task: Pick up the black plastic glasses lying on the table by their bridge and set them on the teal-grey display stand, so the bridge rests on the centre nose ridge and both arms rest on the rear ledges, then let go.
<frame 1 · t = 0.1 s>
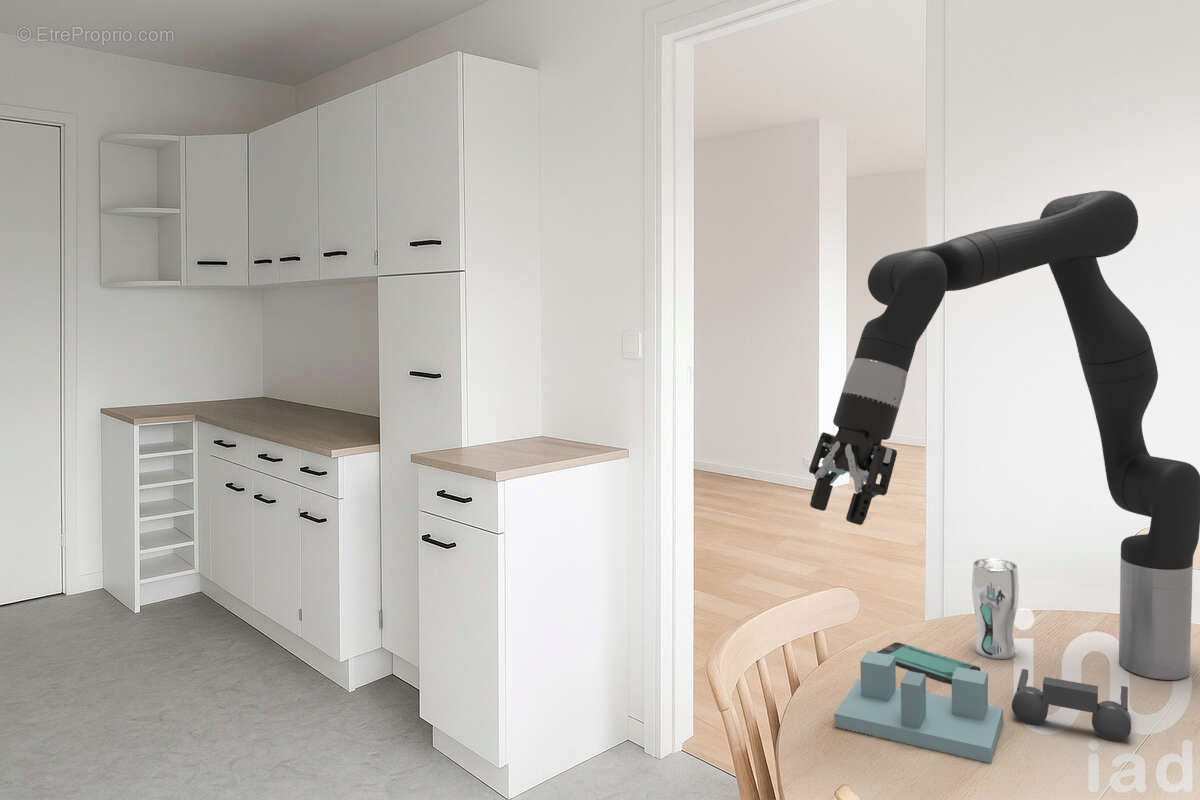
hand: (834, 515, 108), 31 cm above the table, tool tilted 20°, fingers open, 8 cm apart
smartphone: (925, 668, 134), on the table
glasses: (1069, 728, 112), on the table
display stand: (913, 734, 113), on the table
beer glass: (994, 653, 137), on the table
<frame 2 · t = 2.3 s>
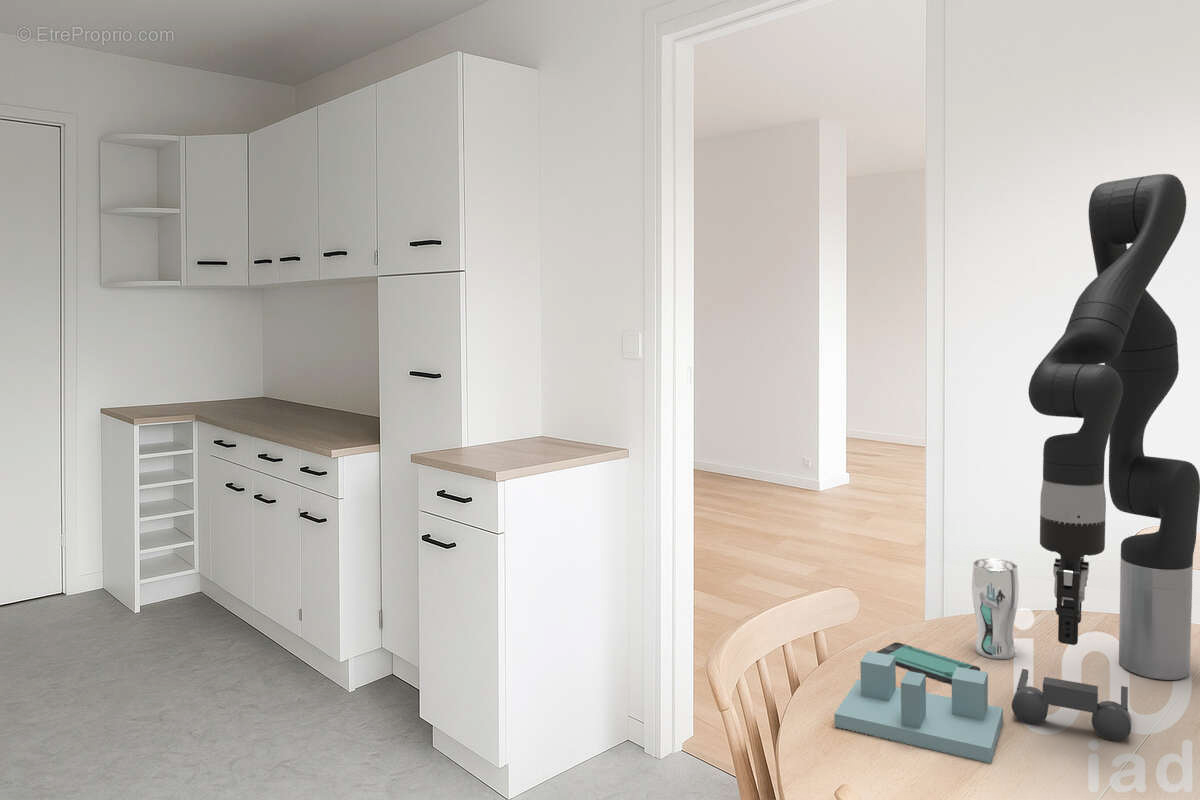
hand: (1069, 632, 111), 14 cm above the table, tool pointing down, fingers open, 8 cm apart
nothing on the table moved.
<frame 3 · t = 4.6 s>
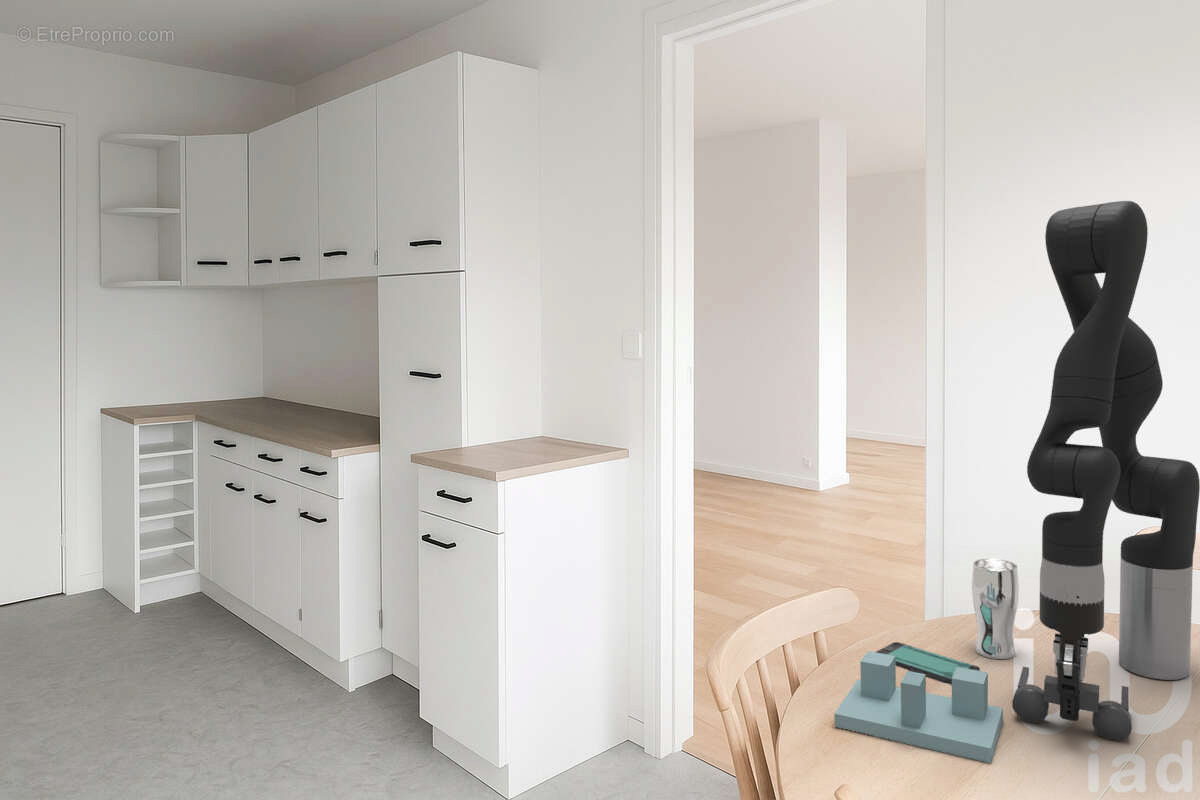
hand: (1070, 713, 112), 2 cm above the table, tool pointing down, fingers closed on glasses, 2 cm apart
glasses: (1069, 726, 112), on the table, touching gripper
everything else where it was.
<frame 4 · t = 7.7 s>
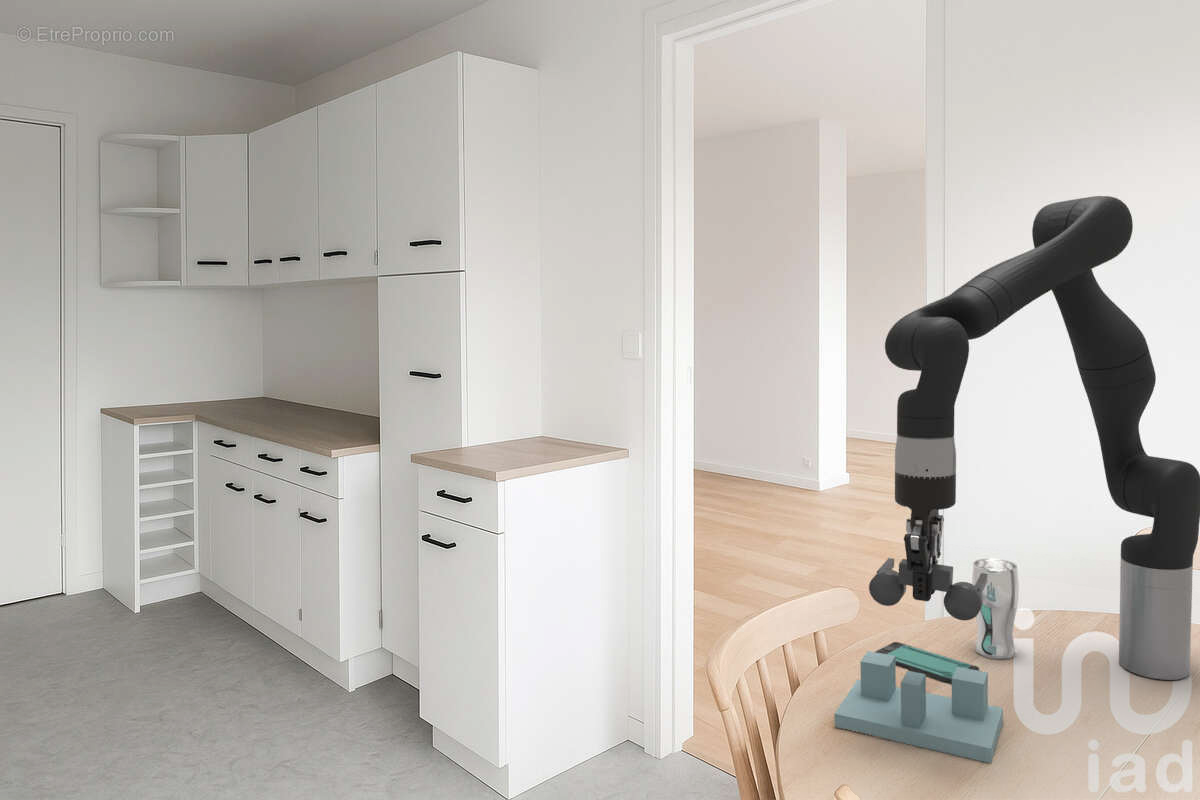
hand: (924, 595, 110), 20 cm above the table, tool pointing down, fingers closed on glasses, 2 cm apart
glasses: (923, 609, 110), point 18 cm above the table, touching gripper
everything else where it was.
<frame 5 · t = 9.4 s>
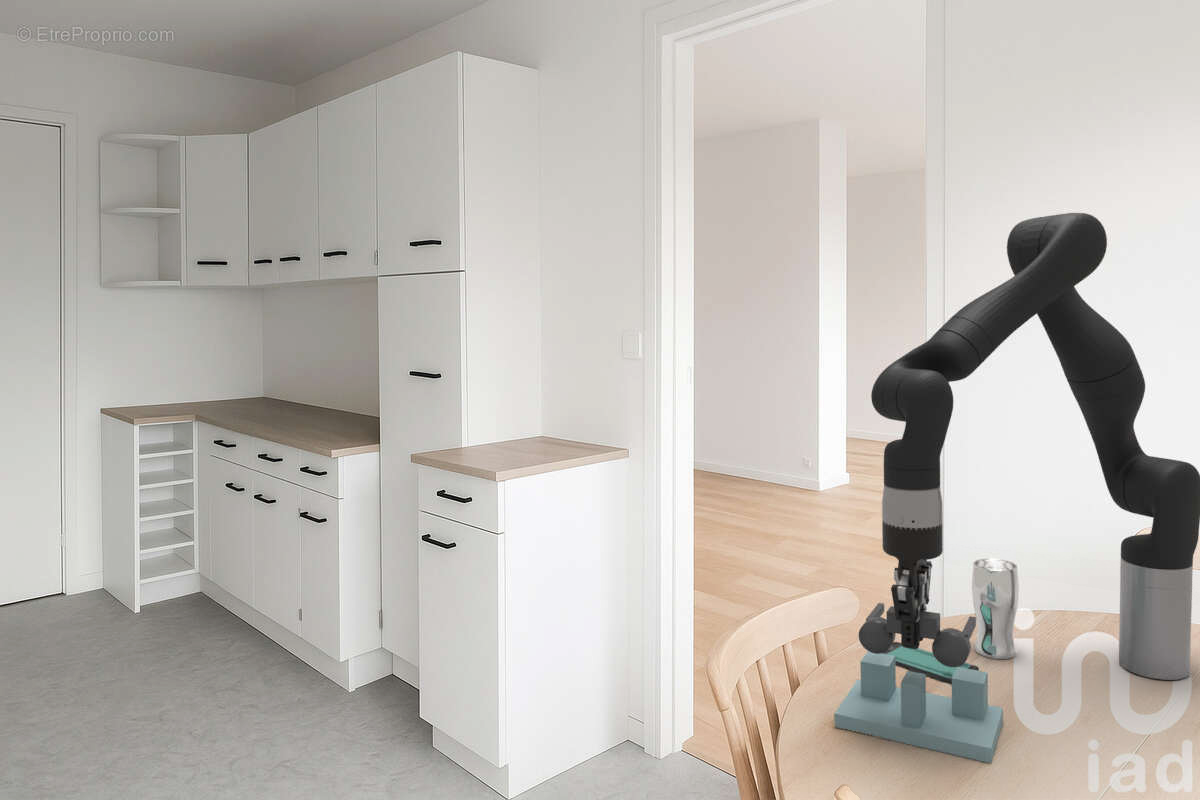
hand: (912, 642, 111), 13 cm above the table, tool pointing down, fingers closed on glasses, 2 cm apart
glasses: (913, 656, 111), point 11 cm above the table, touching gripper
everything else where it was.
when the fingers open (9 cm above the table, at t = 11.0 s): glasses drops 2 cm, resting on display stand.
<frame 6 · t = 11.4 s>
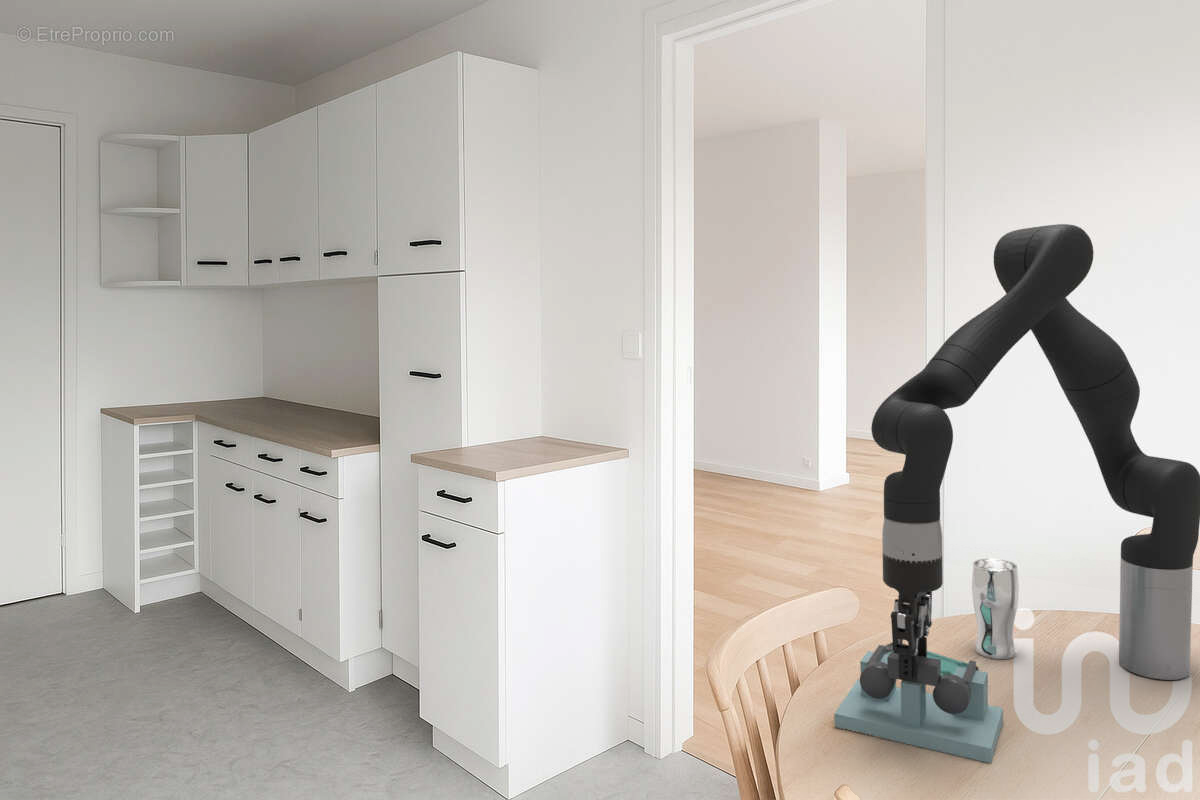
hand: (913, 670, 112), 9 cm above the table, tool pointing down, fingers open, 5 cm apart
glasses: (914, 702, 112), point 5 cm above the table, touching display stand
everything else where it was.
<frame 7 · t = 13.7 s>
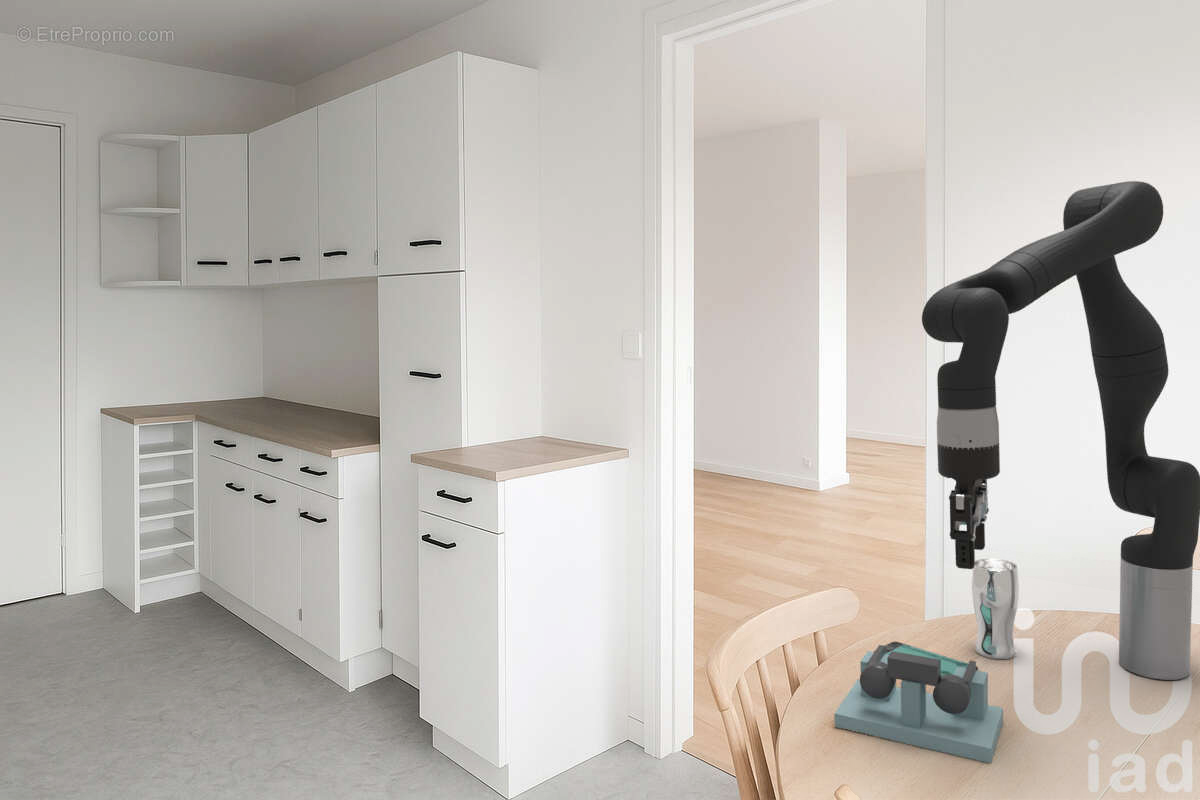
hand: (971, 558, 111), 24 cm above the table, tool pointing down, fingers open, 8 cm apart
nothing on the table moved.
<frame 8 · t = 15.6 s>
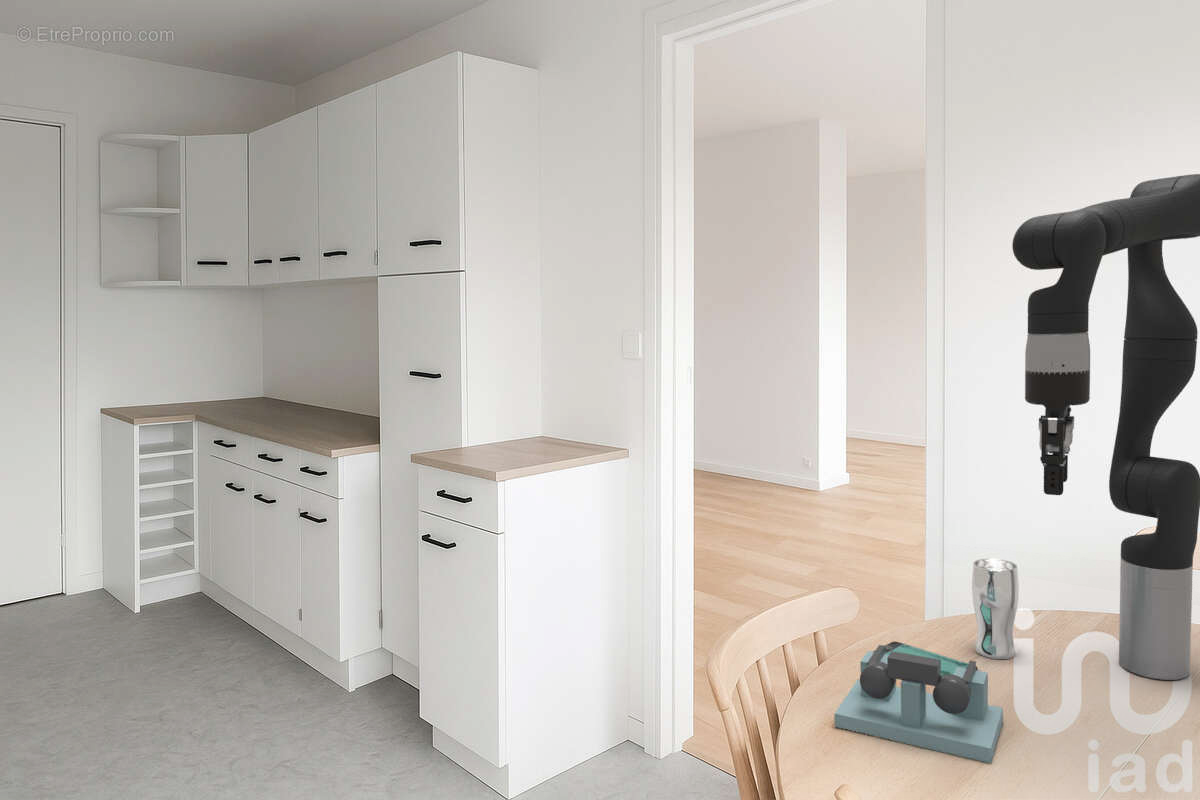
hand: (1055, 487, 111), 33 cm above the table, tool pointing down, fingers open, 8 cm apart
nothing on the table moved.
at the end: glasses 0.1 cm off-centre on the display stand, point 4.6 cm above the display stand's base; glasses tilted 0°; the gripper is holding nothing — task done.
